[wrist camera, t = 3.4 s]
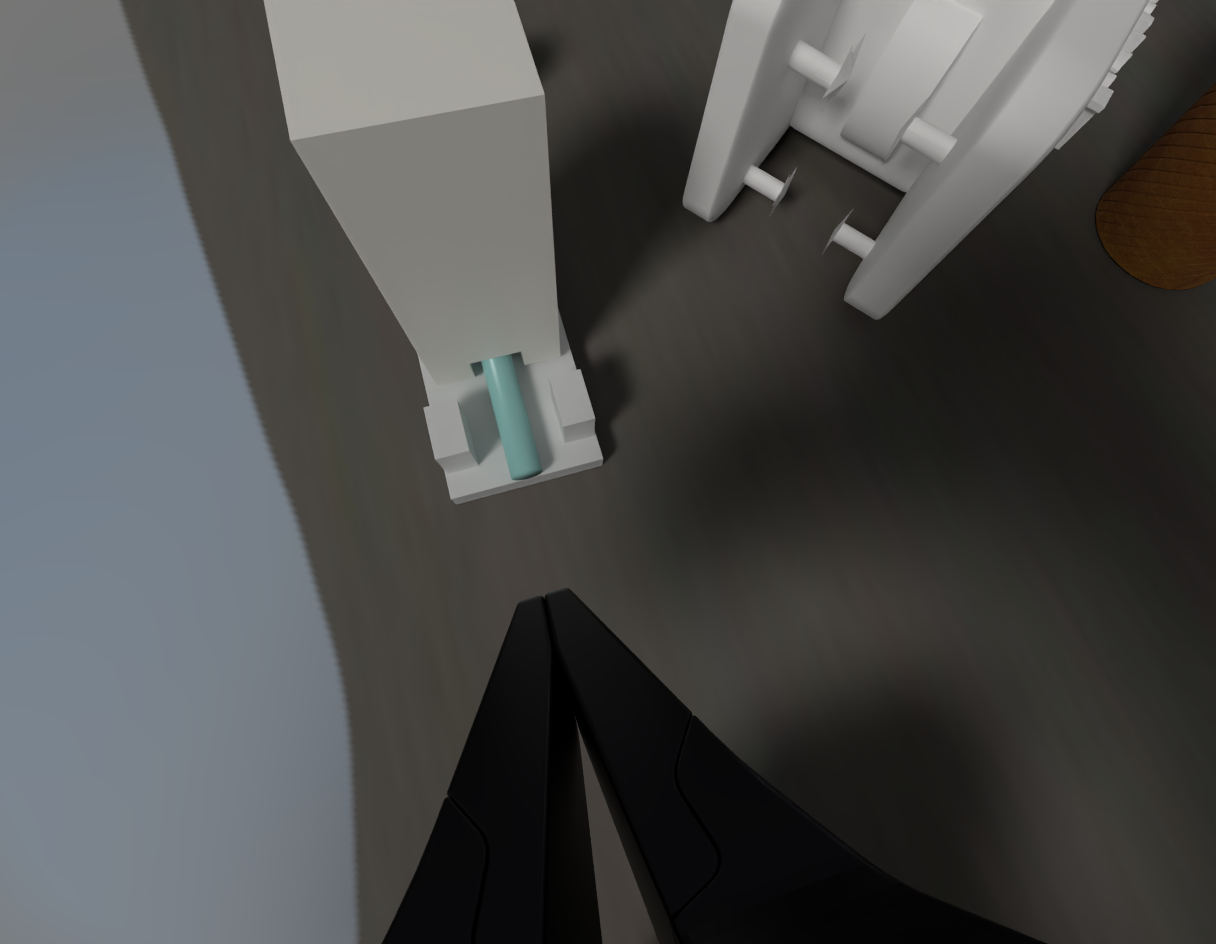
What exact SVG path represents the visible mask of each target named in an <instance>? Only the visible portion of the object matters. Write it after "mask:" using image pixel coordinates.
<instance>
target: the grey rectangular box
mask: <svg viewBox="0 0 1216 944" xmlns="http://www.w3.org/2000/svg"><path fill="white" fill-rule="evenodd" d="M264 4H265V9H266V15H267V20H268V25H269V30H270V36H271V41H272V46H273V52H274V57H275V62H276V68H277V73H278V78H279V83H280V89H281V94H282V99H283V105H284V110H285V115H286V121H287V126H288V131H289V137H290V141H291V143H292V144H293V146H294V148H295V149H296V151H297V153H298V154H299V156H300V158H301V159H302V161H303V163H304V164H305V166H306V168H307V169H308V171H309V173H310V174H311V176H312V178H313V179H314V181H315V183H316V184H317V186H318V188H319V190H320V191H321V193H322V195H323V196H324V198H325V200H326V201H327V203H328V205H329V206H330V208H331V210H332V211H333V213H334V215H335V216H336V218H337V220H338V221H339V223H340V225H341V226H342V228H343V230H344V231H345V233H346V235H347V236H348V238H349V240H350V241H351V243H352V245H353V246H354V248H355V250H356V251H357V253H358V255H359V256H360V258H361V260H362V261H363V263H364V265H365V266H366V268H367V270H368V271H369V273H370V275H371V276H372V278H373V280H374V281H375V283H376V285H377V286H378V288H379V290H380V291H381V293H382V295H383V296H384V298H385V300H386V301H387V303H388V305H389V306H390V308H391V310H392V312H393V313H394V315H395V317H396V318H397V320H398V322H399V323H400V325H401V327H402V328H403V330H404V332H405V333H406V335H407V337H408V338H409V340H410V342H411V343H412V345H413V347H414V348H415V350H416V352H417V353H418V355H419V357H420V358H421V360H422V362H423V363H424V365H425V367H426V368H427V370H428V372H429V373H430V375H431V377H432V378H433V380H434V382H435V383H436V385H437V386H440V385H444V384H449V383H453V382H457V381H461V380H465V379H469V378H473V377H475V375H474V371H473V367H472V364H471V363H475V362H479V361H483V360H487V359H492V358H496V357H500V356H504V355H509V354H513V353H517V352H521V355H522V359H523V362H524V365H527V364H532V363H536V362H540V361H544V360H548V359H552V358H557V357H561V354H560V338H559V322H558V305H557V289H556V273H555V256H554V240H553V224H552V207H551V191H550V175H549V158H548V142H547V126H546V109H545V94H544V91H543V88H542V85H541V82H540V79H539V76H538V73H537V70H536V67H535V64H534V61H533V57H532V54H531V51H530V48H529V45H528V42H527V39H526V36H525V33H524V30H523V27H522V24H521V21H520V18H519V15H518V12H517V8H516V5H515V2H514V0H264Z"/></svg>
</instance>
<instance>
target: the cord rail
mask: <svg viewBox="0 0 1216 944" xmlns="http://www.w3.org/2000/svg"><path fill="white" fill-rule="evenodd" d="M558 322H559V338H560V354H561V357H557V358H552V359H548V360H544V361H540V362H536V363H532V364H527V365H524V362H523V359H522V355H521V352H517V353H513V354H509V355H504V356H500V357H496V358H492V359H487V360H483V361H479V362H475V363H471V364H472V367H473V371H474V375H475V377H473V378H469V379H465V380H461V381H457V382H453V383H449V384H444V385H440V386H437V385H436V383H435V382H434V380H433V378H432V377H431V375H430V373H429V372H428V370H427V368H426V367H425V365H424V363H423V362H422V360H421V358H420V357H419V355H418V357H419V362H420V366H421V371H422V375H423V379H424V384H425V388H426V392H427V397H428V401H429V405H430V406H428V407H424V412H425V417H426V421H427V426H428V430H429V434H430V439H431V443H432V448H433V452H434V457H435V460H436V461H437V462H438V463H439V464H440V466H441V467H442V468H443V469H444V471H445V475H446V480H447V484H448V489H449V493H450V497H451V500H452V501H453V502H454V503H455V504H456V505H457V504H460V503H464V502H468V501H472V500H475V499H479V498H483V497H487V496H490V495H494V494H498V493H502V492H505V491H509V490H513V489H516V488H520V487H524V486H528V485H531V484H535V483H539V482H543V481H546V480H550V479H554V478H558V477H561V476H565V475H569V474H573V473H576V472H580V471H584V470H588V469H591V468H595V467H599V466H602V463H603V456H602V453H601V450H600V446H599V443H598V440H597V436H596V433H595V430H594V428H595V416H594V412H593V409H592V406H591V402H590V399H589V396H588V392H587V389H586V386H585V383H584V379H583V376H582V373H581V369H579V370H576V366H575V363H574V360H573V356H572V353H571V350H570V346H569V343H568V340H567V336H566V333H565V330H564V326H563V323H562V320H561V316H560V313H559V310H558Z"/></svg>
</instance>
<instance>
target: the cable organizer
mask: <svg viewBox="0 0 1216 944" xmlns="http://www.w3.org/2000/svg"><path fill="white" fill-rule="evenodd" d="M1157 1H1158V0H733V1H732V5H731V8H730V12H729V16H728V20H727V24H726V28H725V32H724V36H723V40H722V44H721V48H720V52H719V56H718V60H717V64H716V68H715V72H714V76H713V80H712V84H711V87H710V91H709V95H708V99H707V103H706V107H705V111H704V115H703V119H702V123H701V127H700V131H699V135H698V139H697V143H696V147H695V151H694V155H693V159H692V163H691V167H690V171H689V175H688V179H687V183H686V187H685V191H684V195H683V206H684V207H685V208H686V209H688V210H689V211H691V212H693V213H694V214H696V215H698V216H699V217H701V218H703V219H704V220H706V221H707V222H713V221H714V220H716V219H717V218H718V217H719V216H720V215H721V214H722V213H723V212H724V211H725V210H726V209H727V208H728V206H729V205H730V204H731V203H732V201H733V200H734V199H735V197H736V196H737V195H738V193H739V192H740V191H741V190H742V188H743V187H744V186H745V184H746V185H748V186H749V187H751V188H753V189H754V190H756V191H758V192H759V193H761V194H763V195H764V196H766V197H768V198H769V199H771V200H773V201H774V203H773V205H772V206H774V207H773V209H772V211H771V214H772V212H773V211H774V210H775V208H776V207H777V205H778V204H779V203H780V201H781V200H782V198H783V197H784V196H785V194H786V192H787V189H788V187H789V185H790V183H791V180H792V178H793V176H794V173H795V171H796V169H797V168H796V169H795V171H794V172H793V174H792V175H791V177H790V178H789V176H788V178H787V180H786V182H785V183H783V182H781V181H779V180H778V179H776V178H774V177H773V176H771V175H769V174H768V173H766V172H764V171H763V170H761V169H759V168H758V167H759V166H760V165H761V163H762V162H763V161H764V159H765V158H766V157H767V155H768V154H769V153H770V151H771V150H772V149H773V147H774V146H775V145H776V144H777V142H778V141H779V140H780V138H781V137H782V136H783V134H784V133H785V132H786V130H787V129H788V128H789V126H791V127H793V128H794V129H796V130H797V131H799V132H801V133H802V134H804V135H806V136H808V137H809V138H811V139H813V140H814V141H816V142H818V143H820V144H821V145H823V146H825V147H827V148H828V149H830V150H832V151H833V152H835V153H837V154H839V155H840V156H842V157H844V158H845V159H847V160H849V161H851V162H852V163H854V164H856V165H857V166H859V167H861V168H863V169H864V170H866V171H868V172H870V173H871V174H873V175H875V176H876V177H878V178H880V179H882V180H883V181H885V182H887V183H888V184H890V185H892V186H894V187H895V188H897V189H899V190H901V191H903V192H906V194H905V196H904V198H903V199H902V201H901V202H900V204H899V205H898V207H897V208H896V210H895V211H894V213H893V214H892V216H891V217H890V219H889V220H888V222H887V223H886V225H885V227H884V228H883V230H882V231H881V233H880V234H879V236H878V237H877V239H876V240H875V241H874V240H872V239H871V238H869V237H867V236H865V235H864V234H862V233H860V232H859V231H857V230H855V229H854V228H852V227H850V226H849V225H847V224H845V223H844V222H845V220H846V219H847V217H848V216H849V215H850V213H851V212H852V211H851V212H850V213H849V214H848V215H847V216H846V217H845V218H844V220H843V221H842V222H841V223H840V224H839V225H838V226H837V227H836V229H835V230H834V231H833V233H832V235H831V237H830V239H829V241H828V243H827V245H826V247H825V249H824V251H825V250H826V249H827V247H828V246H829V244H830V243H831V241H832V240H833V241H834V242H836V243H838V244H839V245H841V246H843V247H844V248H846V249H848V250H849V251H851V252H853V253H854V254H856V255H858V256H859V257H861V258H863V260H862V262H861V263H860V265H859V267H858V268H857V270H856V272H855V273H854V275H853V277H852V279H851V281H850V283H849V285H848V287H847V289H846V292H845V295H844V301H845V302H847V303H848V304H850V305H852V306H853V307H855V308H857V309H858V310H860V311H861V312H863V313H865V314H866V315H868V316H870V317H871V318H873V319H875V320H878V319H881V318H882V317H883V316H885V315H886V314H887V313H888V312H889V311H891V310H892V309H893V308H894V307H895V306H896V305H897V304H898V303H899V302H900V301H901V300H902V299H903V298H904V297H905V296H906V295H907V294H908V293H909V292H910V291H911V290H912V289H913V288H914V287H915V286H916V285H917V284H918V283H919V282H920V281H921V280H922V279H923V278H924V277H925V276H926V275H927V274H928V273H929V272H930V271H931V270H932V269H933V268H934V267H935V266H936V265H937V264H938V263H940V262H941V261H942V260H943V259H944V258H945V257H946V256H947V255H948V254H949V253H950V252H951V251H952V250H953V249H954V248H955V247H956V246H957V245H958V244H959V243H960V242H961V241H962V240H963V239H964V238H965V237H966V236H967V235H968V234H969V233H970V232H971V231H972V230H973V229H974V228H975V227H976V226H977V225H978V224H979V223H980V222H981V221H982V220H983V219H984V218H985V217H986V216H987V215H988V214H989V213H990V212H991V211H992V210H993V209H994V208H995V207H996V206H997V205H998V204H999V203H1000V202H1001V201H1003V200H1004V199H1005V198H1006V197H1007V196H1008V195H1009V194H1010V193H1011V192H1012V191H1013V190H1014V189H1015V188H1016V187H1017V186H1018V185H1019V184H1020V183H1021V182H1022V181H1023V180H1024V179H1025V178H1026V177H1027V176H1028V175H1029V174H1030V173H1031V172H1032V171H1033V170H1034V169H1035V168H1036V167H1037V166H1038V165H1039V164H1040V163H1041V162H1042V161H1043V160H1044V159H1045V157H1046V156H1047V155H1048V154H1049V153H1050V152H1051V151H1052V150H1053V149H1054V148H1056V149H1058V150H1059V149H1060V148H1061V147H1062V146H1063V145H1064V144H1065V143H1066V142H1067V141H1068V140H1069V139H1070V138H1071V137H1072V136H1073V135H1074V134H1075V133H1076V132H1077V131H1078V130H1079V129H1080V128H1081V127H1082V126H1083V125H1084V124H1085V123H1086V122H1087V121H1088V120H1089V119H1090V118H1091V117H1092V116H1093V115H1094V114H1095V113H1096V112H1097V113H1100V112H1101V111H1102V110H1103V109H1104V108H1105V106H1106V104H1107V103H1108V101H1109V99H1110V97H1111V96H1112V94H1113V92H1114V91H1112V90H1111V89H1109V88H1108V87H1109V86H1110V85H1111V83H1112V82H1113V81H1114V80H1115V78H1116V75H1114V74H1115V73H1117V72H1118V71H1119V70H1120V68H1121V67H1122V66H1123V65H1124V64H1125V63H1126V61H1127V60H1128V59H1129V58H1130V57H1131V56H1132V55H1133V54H1131V52H1132V51H1133V50H1134V49H1135V48H1136V47H1137V46H1138V45H1139V44H1140V43H1141V42H1142V41H1143V40H1144V39H1145V37H1146V36H1145V35H1143V33H1144V32H1145V31H1146V30H1147V29H1148V27H1149V26H1150V25H1151V24H1152V22H1153V20H1154V17H1152V16H1151V15H1150V14H1151V12H1152V11H1153V10H1154V8H1155V7H1156V4H1155V3H1156V2H1157ZM797 167H798V166H797ZM789 175H790V174H789ZM772 206H771V207H772ZM853 209H854V208H853ZM853 209H852V210H853ZM771 214H770V215H771ZM823 253H824V252H823Z"/></svg>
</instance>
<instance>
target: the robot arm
mask: <svg viewBox="0 0 1216 944" xmlns="http://www.w3.org/2000/svg"><path fill="white" fill-rule="evenodd" d="M575 717H576V718H575ZM576 720H577V723H576ZM577 724H578V727H579V730H580V733H581V736H582V739H583V742H584V744H585V747H586V750H587V752H588V755H589V758H590V760H591V763H592V765H593V768H594V771H595V773H596V776H597V779H598V781H599V784H600V787H601V789H602V792H603V795H604V797H605V800H606V803H607V805H608V808H609V811H610V813H611V816H612V818H613V821H614V824H615V826H616V829H617V832H618V834H619V837H620V840H621V842H622V845H623V848H624V850H625V853H626V856H627V858H628V861H629V864H630V866H631V869H632V872H633V874H634V877H635V879H636V882H637V885H638V887H639V890H640V893H641V895H642V898H643V901H644V903H645V906H646V909H647V911H648V914H649V917H650V919H651V922H652V925H653V927H654V930H655V932H656V935H657V938H658V940H659V943H660V944H1047V943H1044V942H1042V941H1039V940H1037V939H1035V938H1032V937H1030V936H1027V935H1025V934H1022V933H1020V932H1017V931H1015V930H1013V929H1010V928H1008V927H1005V926H1003V925H1000V924H998V923H995V922H993V921H990V920H988V919H986V918H983V917H981V916H978V915H976V914H973V913H971V912H968V911H966V910H964V909H961V908H959V907H956V906H954V905H951V904H949V903H946V902H944V901H941V900H939V899H937V898H934V897H932V896H929V895H927V894H925V893H922V892H920V891H918V890H916V889H914V888H912V887H910V886H908V885H906V884H904V883H902V882H900V881H899V880H897V879H895V878H894V877H892V876H890V875H889V874H887V873H885V872H884V871H882V870H881V869H879V868H878V867H877V866H875V865H874V864H872V863H871V862H869V861H868V860H867V859H865V858H864V857H863V856H861V855H860V854H859V853H857V852H856V851H855V850H853V849H852V848H851V847H850V846H848V845H847V844H846V843H844V842H843V841H842V840H841V839H839V838H838V837H837V836H836V835H834V834H833V833H832V832H830V831H829V830H828V829H827V828H825V827H824V826H823V825H822V824H820V823H819V822H818V821H816V820H815V819H814V818H813V817H811V816H810V815H809V814H808V813H806V812H805V811H804V810H803V809H801V808H800V807H799V806H797V805H796V804H795V803H794V802H792V801H791V800H790V799H789V798H787V797H786V796H785V795H783V794H782V793H781V792H780V791H778V790H777V789H776V788H775V787H773V786H772V785H771V784H770V783H768V782H767V781H766V780H765V779H764V778H762V777H761V776H760V775H759V774H758V773H756V772H755V771H754V770H753V769H752V768H750V767H749V766H748V765H747V764H746V763H744V762H743V761H742V760H741V759H740V758H739V757H738V756H736V755H735V754H734V753H733V752H732V751H731V750H730V749H729V748H728V747H727V746H726V745H725V744H724V743H723V742H722V741H721V740H720V739H718V738H717V737H716V736H715V735H714V734H713V733H712V732H711V731H710V730H709V729H708V728H707V727H706V726H705V725H704V724H703V723H702V722H701V721H700V720H699V719H698V718H697V717H696V716H692V712H691V711H690V710H689V709H688V708H687V707H686V706H685V705H684V704H683V703H682V702H681V701H680V700H679V699H678V698H677V697H676V696H675V695H674V694H673V693H672V692H671V691H670V690H669V689H668V688H667V687H666V686H665V685H664V684H663V683H662V682H661V681H660V680H659V679H658V678H657V677H656V676H655V675H654V674H653V673H652V672H651V671H650V670H649V668H648V667H647V666H646V665H645V664H644V663H643V662H642V661H641V660H640V659H639V658H638V657H637V656H636V655H635V654H634V653H633V652H632V651H631V650H630V649H629V648H628V647H627V646H626V645H625V644H624V643H623V642H622V641H621V640H620V639H619V638H618V637H617V636H616V635H615V634H614V633H613V632H612V631H611V630H610V629H609V628H608V627H607V626H606V625H605V624H604V623H603V622H602V621H601V620H600V619H599V618H598V617H597V616H596V615H595V614H594V613H593V612H592V611H591V610H590V609H589V608H588V607H587V606H586V605H585V604H584V603H583V602H582V601H581V600H580V599H579V598H578V597H577V596H576V595H575V594H574V593H573V592H572V591H571V590H570V589H569V588H564V589H560V590H557V591H553V592H550V593H547V594H546V595H545V599H544V597H543V596H536V597H533V598H529V599H526V600H523V601H520V602H519V603H518V605H517V607H516V610H515V612H514V615H513V618H512V620H511V623H510V626H509V628H508V631H507V634H506V636H505V639H504V642H503V644H502V647H501V650H500V652H499V655H498V658H497V660H496V663H495V666H494V668H493V671H492V674H491V676H490V679H489V682H488V684H487V687H486V690H485V692H484V695H483V698H482V700H481V703H480V706H479V708H478V711H477V714H476V716H475V719H474V722H473V724H472V727H471V730H470V732H469V735H468V738H467V740H466V743H465V746H464V748H463V751H462V754H461V756H460V759H459V762H458V764H457V767H456V770H455V772H454V775H453V778H452V780H451V783H450V786H449V788H448V791H447V795H448V797H446V798H445V799H444V801H443V804H442V806H441V809H440V812H439V814H438V817H437V820H436V823H435V825H434V828H433V830H432V833H431V835H430V838H429V840H428V843H427V845H426V848H425V850H424V852H423V855H422V857H421V860H420V862H419V865H418V867H417V870H416V872H415V874H414V876H413V878H412V880H411V883H410V885H409V887H408V889H407V891H406V893H405V895H404V898H403V900H402V902H401V904H400V906H399V908H398V911H397V913H396V915H395V917H394V919H393V921H392V923H391V925H390V927H389V929H388V931H387V933H386V935H385V938H384V940H383V942H382V944H602V935H601V926H600V917H599V909H598V900H597V891H596V882H595V873H594V864H593V856H592V847H591V838H590V829H589V820H588V811H587V803H586V794H585V785H584V776H583V767H582V758H581V750H580V741H579V734H578V728H577Z"/></svg>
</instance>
